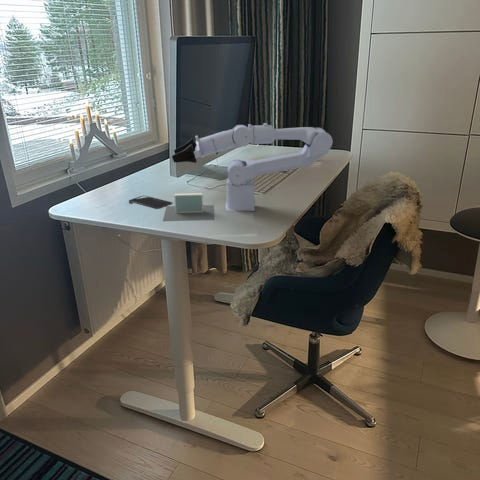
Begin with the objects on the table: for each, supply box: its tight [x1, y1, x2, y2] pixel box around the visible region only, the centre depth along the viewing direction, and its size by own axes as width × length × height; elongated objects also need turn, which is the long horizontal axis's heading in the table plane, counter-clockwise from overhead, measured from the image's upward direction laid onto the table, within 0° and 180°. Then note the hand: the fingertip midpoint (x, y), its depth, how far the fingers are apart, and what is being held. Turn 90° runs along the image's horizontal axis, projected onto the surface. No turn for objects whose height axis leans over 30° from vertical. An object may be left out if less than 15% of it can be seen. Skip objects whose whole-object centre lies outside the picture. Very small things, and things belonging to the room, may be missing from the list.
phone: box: [128, 195, 173, 210], centre depth 159 cm, size 8×1×15 cm
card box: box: [174, 192, 204, 213], centre depth 148 cm, size 9×2×6 cm, turn 93°
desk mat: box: [162, 204, 215, 222], centre depth 148 cm, size 16×14×1 cm
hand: (174, 156), depth 146 cm, fingers open, 7 cm apart
